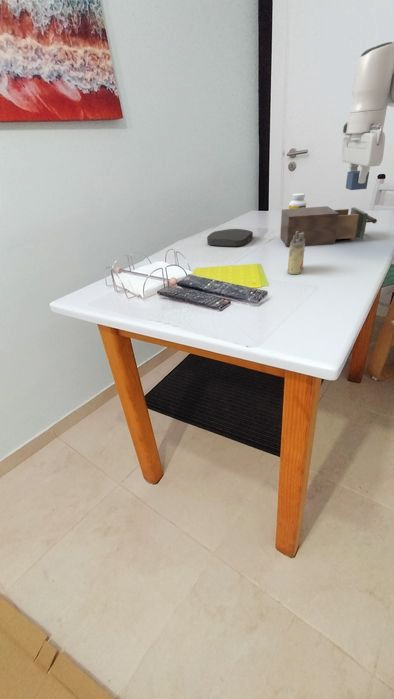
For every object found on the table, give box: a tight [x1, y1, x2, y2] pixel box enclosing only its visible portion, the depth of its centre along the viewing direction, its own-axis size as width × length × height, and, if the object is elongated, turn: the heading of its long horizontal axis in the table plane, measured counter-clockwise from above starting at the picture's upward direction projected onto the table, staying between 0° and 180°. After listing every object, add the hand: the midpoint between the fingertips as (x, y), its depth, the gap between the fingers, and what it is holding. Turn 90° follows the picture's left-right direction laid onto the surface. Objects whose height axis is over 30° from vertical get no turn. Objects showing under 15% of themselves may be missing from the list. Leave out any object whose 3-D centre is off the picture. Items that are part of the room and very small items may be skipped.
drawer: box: [333, 206, 378, 240], centre depth 113 cm, size 19×11×8 cm, turn 88°
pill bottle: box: [288, 192, 307, 209], centre depth 133 cm, size 6×6×12 cm
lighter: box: [286, 231, 306, 275], centre depth 90 cm, size 7×4×10 cm, turn 157°
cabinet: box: [279, 205, 339, 248], centre depth 114 cm, size 16×13×10 cm
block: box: [345, 170, 370, 191], centre depth 97 cm, size 4×4×4 cm
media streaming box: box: [206, 228, 254, 247], centre depth 122 cm, size 15×15×3 cm
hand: (356, 182), depth 97 cm, fingers closed on block, 4 cm apart
